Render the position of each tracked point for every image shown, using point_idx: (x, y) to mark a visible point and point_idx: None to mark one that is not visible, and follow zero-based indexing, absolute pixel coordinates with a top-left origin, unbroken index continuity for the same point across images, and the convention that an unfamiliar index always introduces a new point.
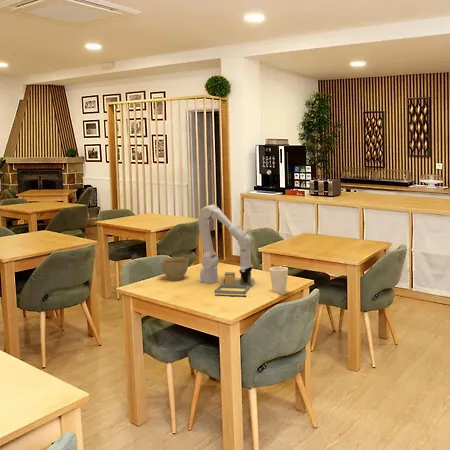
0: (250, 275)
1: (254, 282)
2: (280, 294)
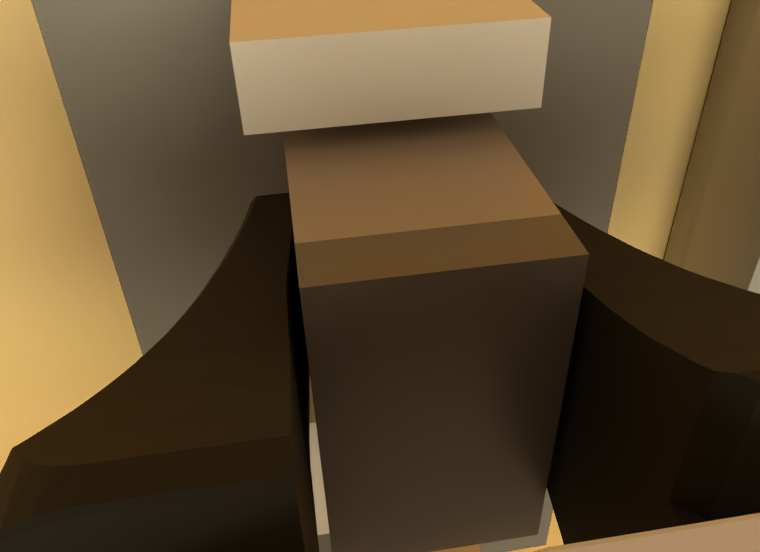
0: (436, 218)
1: (99, 11)
2: None
